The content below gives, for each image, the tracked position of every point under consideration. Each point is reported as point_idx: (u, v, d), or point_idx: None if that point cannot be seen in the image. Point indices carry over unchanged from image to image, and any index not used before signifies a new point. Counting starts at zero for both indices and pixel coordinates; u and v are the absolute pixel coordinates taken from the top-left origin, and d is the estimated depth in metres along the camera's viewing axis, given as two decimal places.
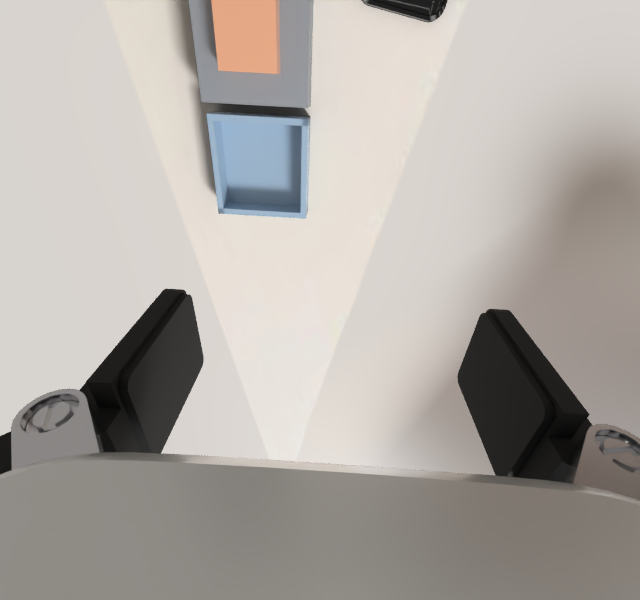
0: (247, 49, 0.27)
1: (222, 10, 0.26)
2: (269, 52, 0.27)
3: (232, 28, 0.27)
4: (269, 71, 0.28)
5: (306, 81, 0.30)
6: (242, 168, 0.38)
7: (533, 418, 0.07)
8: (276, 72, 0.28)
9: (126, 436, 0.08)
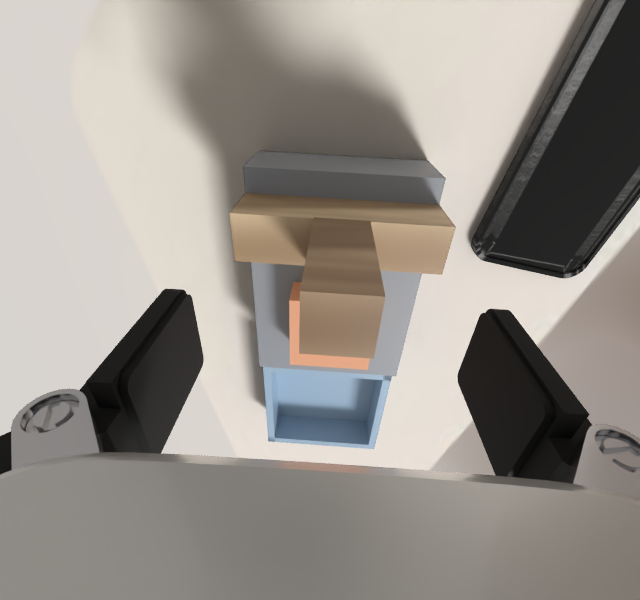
0: None
1: None
2: None
3: None
4: (358, 367, 0.21)
5: (399, 355, 0.23)
6: (298, 390, 0.31)
7: (533, 418, 0.07)
8: (366, 367, 0.21)
9: (126, 436, 0.08)
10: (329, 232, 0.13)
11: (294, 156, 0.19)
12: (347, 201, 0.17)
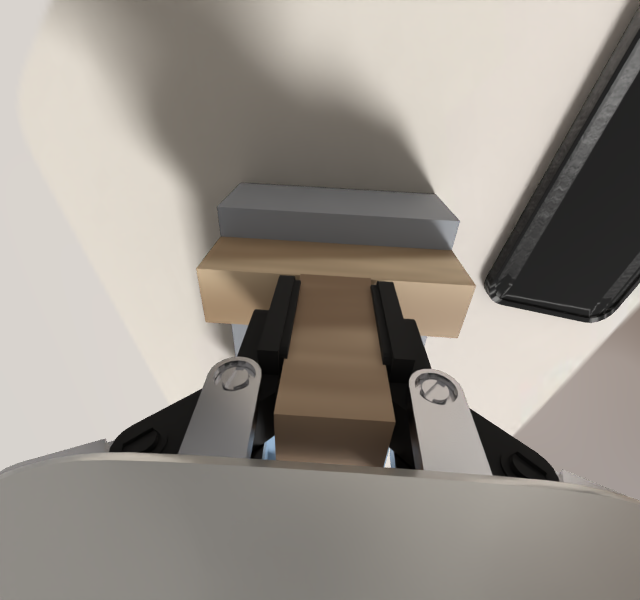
0: None
1: None
2: None
3: None
4: None
5: None
6: None
7: None
8: None
9: None
10: (318, 298, 0.11)
11: (280, 190, 0.16)
12: (342, 247, 0.14)
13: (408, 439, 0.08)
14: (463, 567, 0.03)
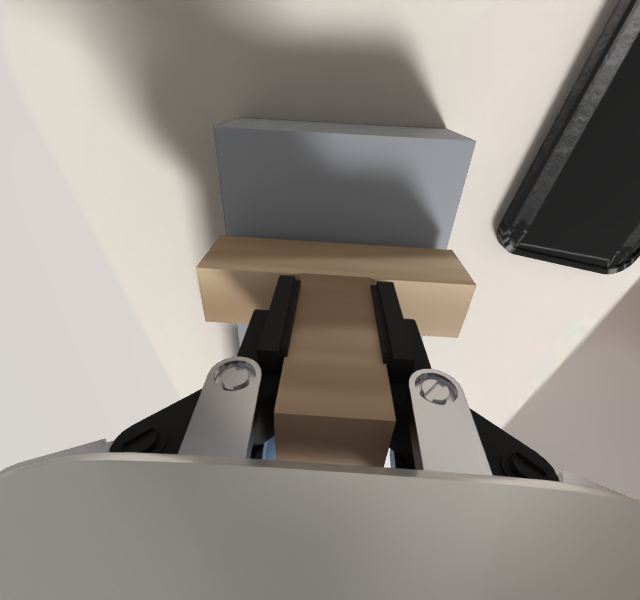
0: None
1: None
2: None
3: None
4: None
5: None
6: None
7: None
8: None
9: None
10: (319, 297, 0.11)
11: (282, 122, 0.15)
12: (342, 246, 0.14)
13: (408, 439, 0.08)
14: (463, 567, 0.03)
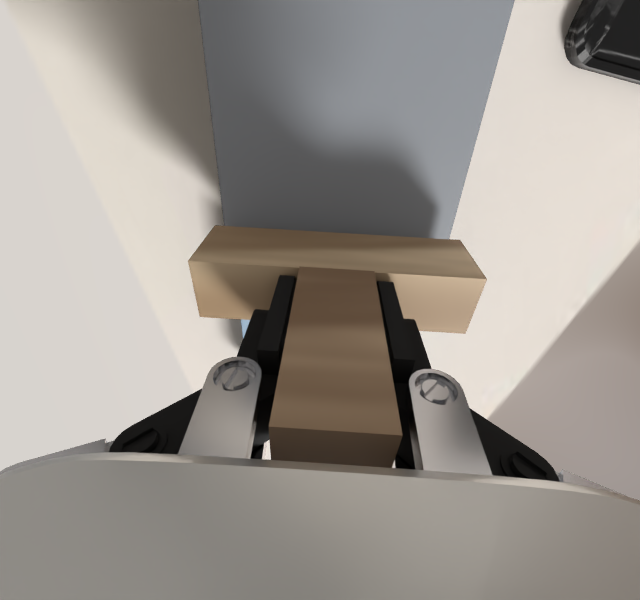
0: None
1: None
2: None
3: None
4: None
5: (449, 225, 0.14)
6: None
7: None
8: None
9: None
10: (318, 294, 0.10)
11: None
12: (344, 237, 0.13)
13: (408, 439, 0.08)
14: (463, 567, 0.03)
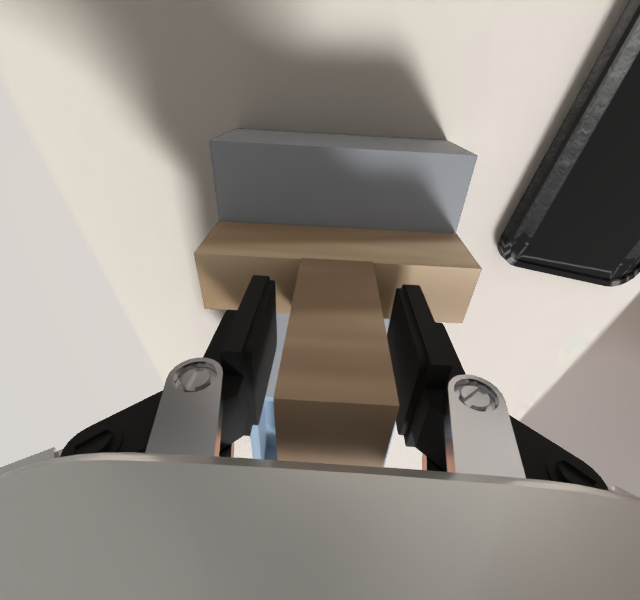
0: None
1: None
2: None
3: None
4: None
5: None
6: None
7: (414, 373, 0.08)
8: None
9: (244, 401, 0.09)
10: (319, 282, 0.10)
11: (279, 133, 0.15)
12: (344, 231, 0.14)
13: (445, 446, 0.08)
14: (463, 567, 0.03)
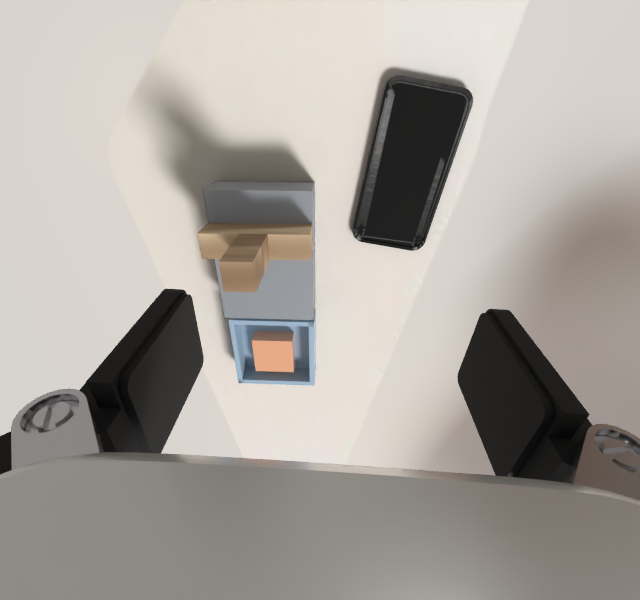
0: None
1: None
2: None
3: None
4: None
5: (311, 304, 0.36)
6: None
7: (533, 418, 0.07)
8: (293, 332, 0.42)
9: (126, 436, 0.08)
10: (243, 239, 0.28)
11: (235, 183, 0.33)
12: (262, 224, 0.31)
13: None
14: (463, 567, 0.03)
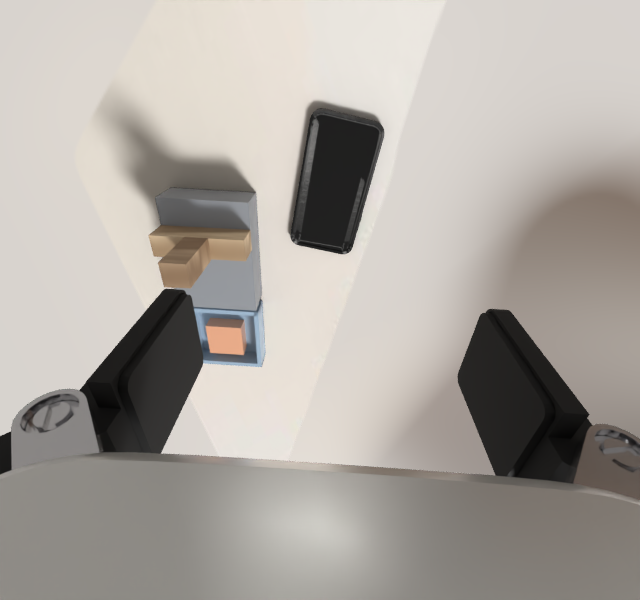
0: None
1: None
2: None
3: None
4: (240, 320, 0.48)
5: (253, 297, 0.42)
6: None
7: (533, 418, 0.07)
8: (243, 320, 0.48)
9: (126, 436, 0.08)
10: (185, 243, 0.33)
11: (186, 190, 0.38)
12: (207, 228, 0.37)
13: None
14: (463, 567, 0.03)
